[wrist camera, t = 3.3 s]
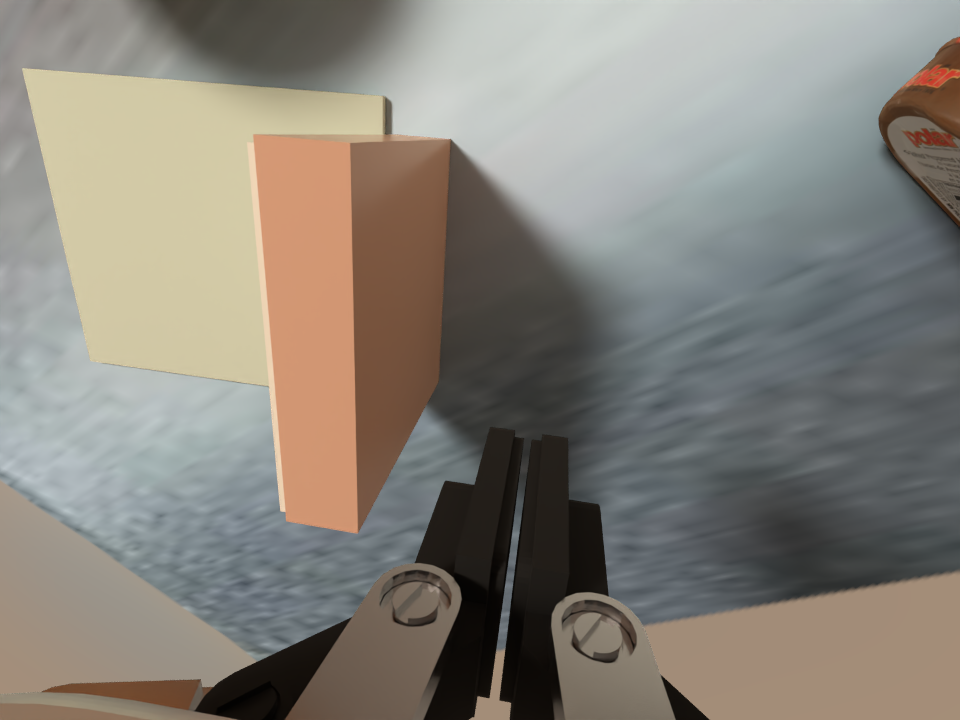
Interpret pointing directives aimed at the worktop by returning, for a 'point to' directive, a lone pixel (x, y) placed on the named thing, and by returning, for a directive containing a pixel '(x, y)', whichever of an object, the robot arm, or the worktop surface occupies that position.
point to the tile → (347, 308)
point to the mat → (170, 209)
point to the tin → (929, 127)
